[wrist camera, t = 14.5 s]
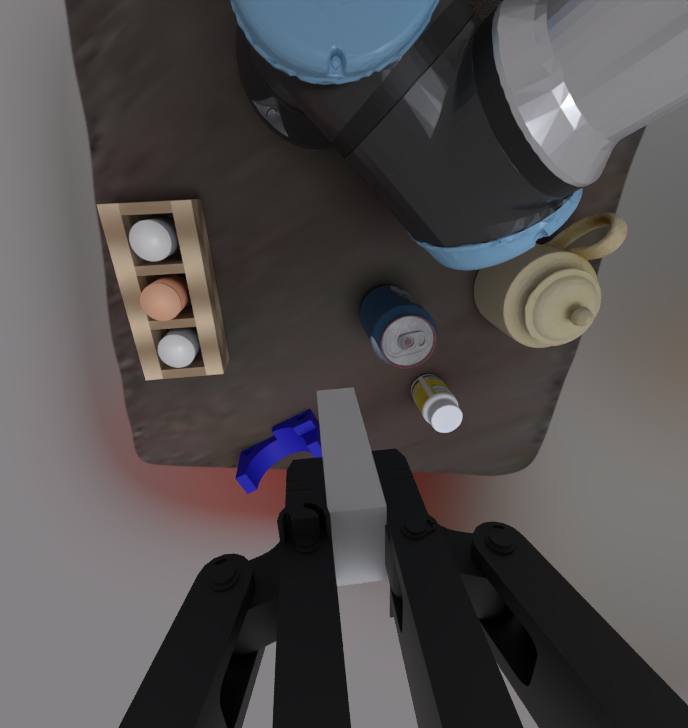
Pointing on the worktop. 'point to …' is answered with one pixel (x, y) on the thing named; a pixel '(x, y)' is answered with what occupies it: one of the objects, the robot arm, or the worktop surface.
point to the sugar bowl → (548, 286)
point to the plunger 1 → (154, 238)
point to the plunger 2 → (179, 346)
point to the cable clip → (279, 448)
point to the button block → (193, 263)
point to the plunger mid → (165, 297)
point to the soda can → (398, 327)
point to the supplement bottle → (436, 403)
